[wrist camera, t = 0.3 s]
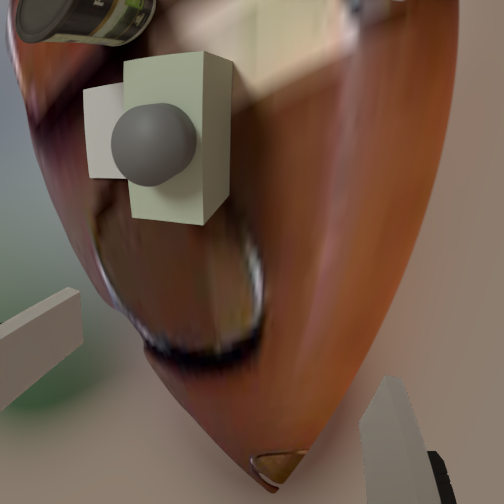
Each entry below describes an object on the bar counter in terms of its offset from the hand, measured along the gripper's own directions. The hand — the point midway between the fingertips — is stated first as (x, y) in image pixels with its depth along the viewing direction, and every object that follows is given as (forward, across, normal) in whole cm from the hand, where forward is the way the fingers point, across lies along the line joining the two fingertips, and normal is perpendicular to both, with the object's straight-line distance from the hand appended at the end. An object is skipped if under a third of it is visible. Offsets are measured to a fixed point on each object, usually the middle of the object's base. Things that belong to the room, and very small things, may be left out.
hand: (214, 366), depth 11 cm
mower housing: (+24, -18, +10) cm, 32 cm away
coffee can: (+20, -24, +26) cm, 41 cm away
